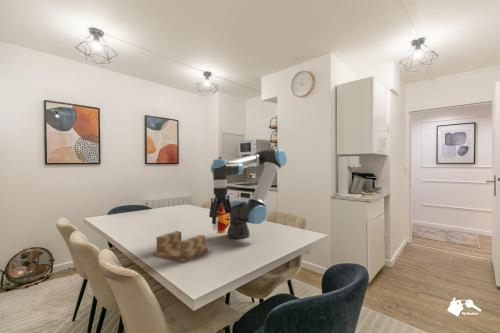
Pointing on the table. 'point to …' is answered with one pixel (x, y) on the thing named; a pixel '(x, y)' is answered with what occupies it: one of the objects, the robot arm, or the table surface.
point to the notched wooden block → (180, 247)
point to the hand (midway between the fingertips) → (221, 227)
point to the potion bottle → (222, 220)
